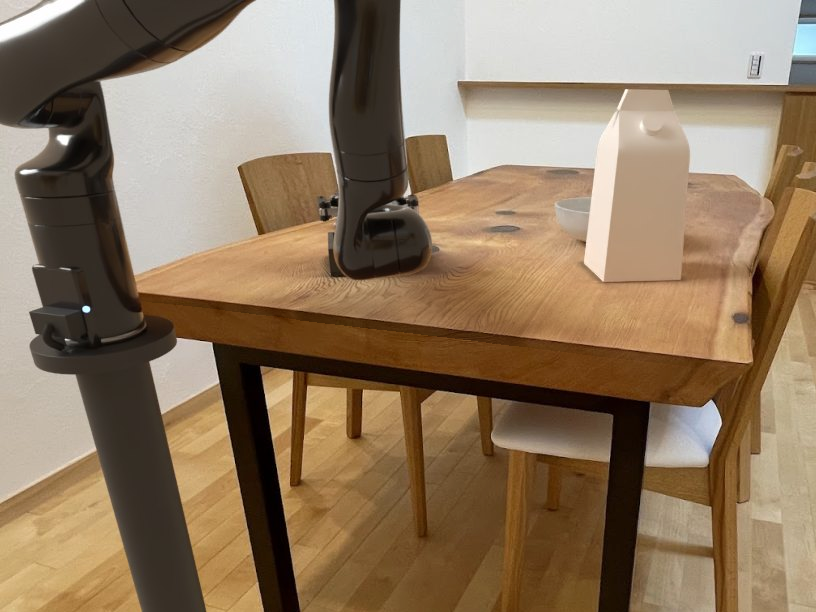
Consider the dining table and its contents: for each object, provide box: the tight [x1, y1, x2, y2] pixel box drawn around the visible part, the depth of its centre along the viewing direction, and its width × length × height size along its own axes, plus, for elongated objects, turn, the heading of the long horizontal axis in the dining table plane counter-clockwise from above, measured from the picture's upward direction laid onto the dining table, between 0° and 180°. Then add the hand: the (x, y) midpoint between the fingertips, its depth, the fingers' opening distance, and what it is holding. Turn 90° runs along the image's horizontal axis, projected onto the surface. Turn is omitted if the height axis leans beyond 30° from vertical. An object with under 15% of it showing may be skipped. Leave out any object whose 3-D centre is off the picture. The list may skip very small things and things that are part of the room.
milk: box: [583, 88, 691, 283], centre depth 98 cm, size 12×12×26 cm
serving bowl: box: [554, 196, 592, 243], centre depth 121 cm, size 21×21×7 cm
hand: (365, 199), depth 101 cm, fingers open, 8 cm apart
